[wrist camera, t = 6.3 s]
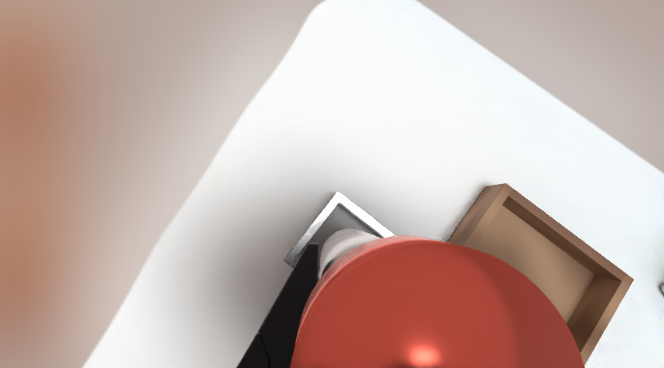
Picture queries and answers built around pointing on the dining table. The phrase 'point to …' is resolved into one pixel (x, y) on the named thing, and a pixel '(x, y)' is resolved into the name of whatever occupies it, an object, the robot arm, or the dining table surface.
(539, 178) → the dining table surface
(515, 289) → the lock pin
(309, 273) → the robot arm
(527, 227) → the tray
